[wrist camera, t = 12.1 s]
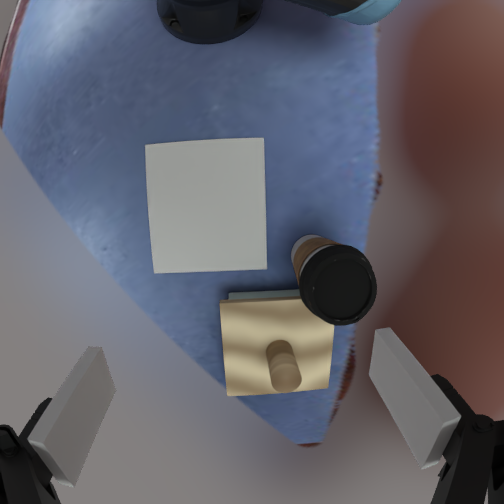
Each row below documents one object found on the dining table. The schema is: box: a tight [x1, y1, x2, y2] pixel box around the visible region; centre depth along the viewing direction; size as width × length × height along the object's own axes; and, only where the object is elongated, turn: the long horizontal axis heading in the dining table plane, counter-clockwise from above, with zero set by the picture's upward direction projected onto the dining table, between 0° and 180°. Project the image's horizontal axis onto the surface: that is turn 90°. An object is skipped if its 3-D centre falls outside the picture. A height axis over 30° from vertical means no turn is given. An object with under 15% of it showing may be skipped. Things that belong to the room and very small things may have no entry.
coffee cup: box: [291, 235, 377, 326], centre depth 38 cm, size 8×8×15 cm
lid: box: [220, 296, 334, 396], centre depth 39 cm, size 15×15×8 cm
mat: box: [145, 138, 267, 273], centre depth 43 cm, size 18×16×1 cm
